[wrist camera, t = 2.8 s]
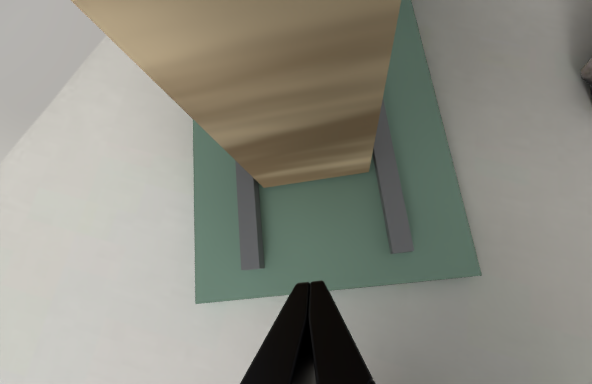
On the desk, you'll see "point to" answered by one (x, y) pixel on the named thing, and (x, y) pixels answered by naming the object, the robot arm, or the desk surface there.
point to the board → (340, 205)
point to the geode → (587, 73)
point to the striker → (267, 75)
